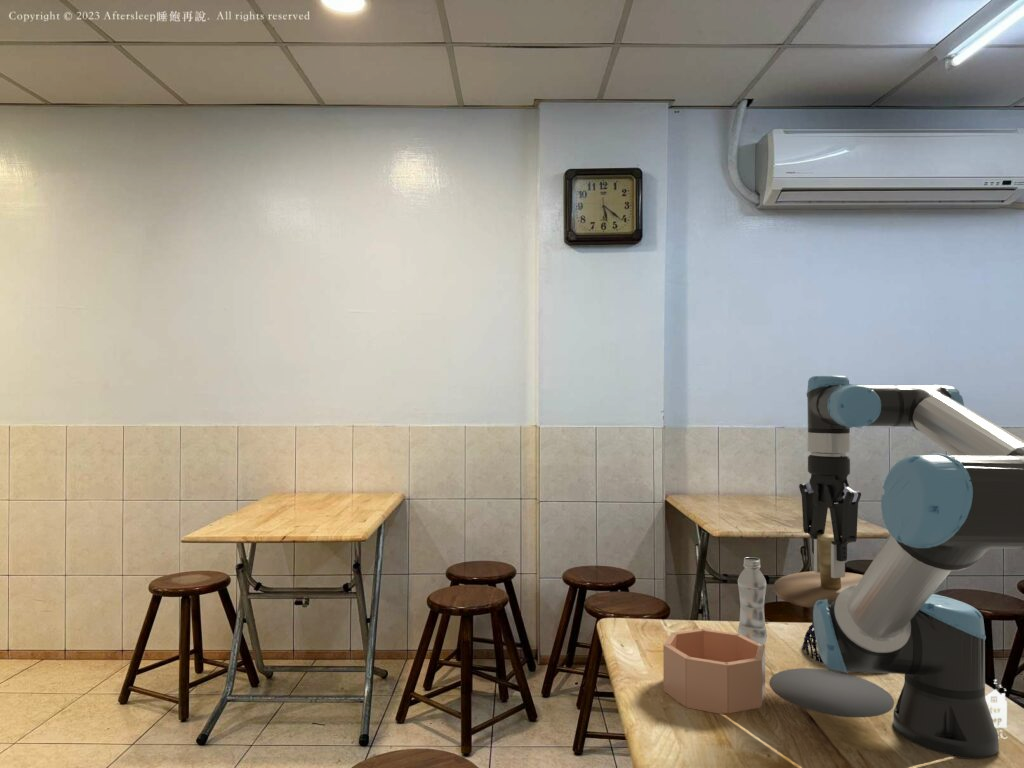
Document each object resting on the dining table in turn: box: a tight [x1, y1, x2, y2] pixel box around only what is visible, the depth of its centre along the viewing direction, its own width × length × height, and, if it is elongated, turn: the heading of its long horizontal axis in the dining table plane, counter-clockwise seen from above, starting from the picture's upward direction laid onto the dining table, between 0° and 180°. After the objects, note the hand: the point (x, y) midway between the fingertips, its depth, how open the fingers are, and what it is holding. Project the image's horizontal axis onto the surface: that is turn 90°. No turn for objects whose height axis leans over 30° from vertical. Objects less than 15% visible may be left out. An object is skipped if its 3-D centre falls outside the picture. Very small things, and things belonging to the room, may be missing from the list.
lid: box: [773, 533, 864, 609], centre depth 134 cm, size 21×21×11 cm
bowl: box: [662, 628, 766, 716], centre depth 134 cm, size 18×18×9 cm
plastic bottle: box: [737, 556, 768, 646], centre depth 159 cm, size 6×7×20 cm
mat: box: [769, 667, 895, 718], centre depth 134 cm, size 22×22×1 cm
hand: (829, 574), depth 134 cm, fingers closed on lid, 4 cm apart
